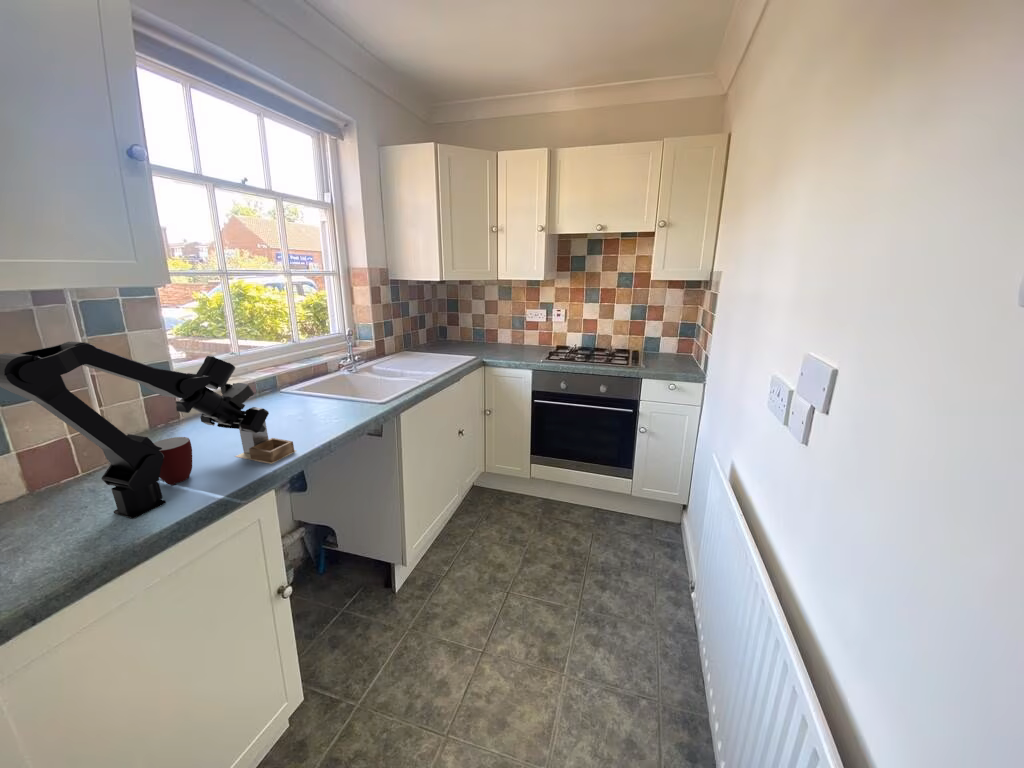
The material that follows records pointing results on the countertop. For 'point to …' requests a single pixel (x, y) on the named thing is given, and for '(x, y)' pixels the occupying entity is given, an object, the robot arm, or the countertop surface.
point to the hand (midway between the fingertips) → (258, 429)
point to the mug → (175, 459)
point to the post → (252, 438)
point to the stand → (269, 451)
